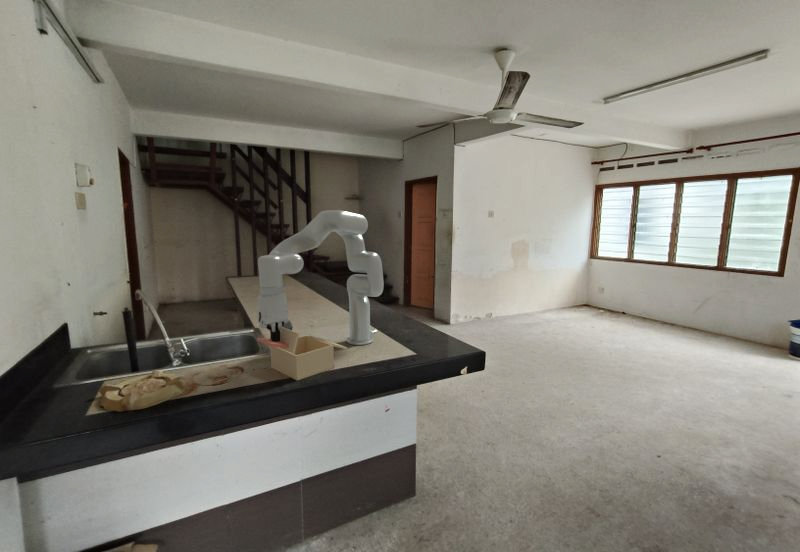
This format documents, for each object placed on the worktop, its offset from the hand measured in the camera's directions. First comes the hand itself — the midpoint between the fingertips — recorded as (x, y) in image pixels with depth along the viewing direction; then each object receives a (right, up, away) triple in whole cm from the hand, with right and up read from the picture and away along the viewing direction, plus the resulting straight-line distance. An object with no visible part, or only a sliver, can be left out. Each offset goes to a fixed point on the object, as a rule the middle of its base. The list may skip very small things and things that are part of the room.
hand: (275, 340), depth 134 cm
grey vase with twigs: (-4, -10, +24) cm, 26 cm away
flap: (+2, +1, +2) cm, 3 cm away
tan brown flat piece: (-38, -15, -13) cm, 43 cm away
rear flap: (+15, -3, +17) cm, 23 cm away
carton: (+7, -12, +9) cm, 17 cm away
